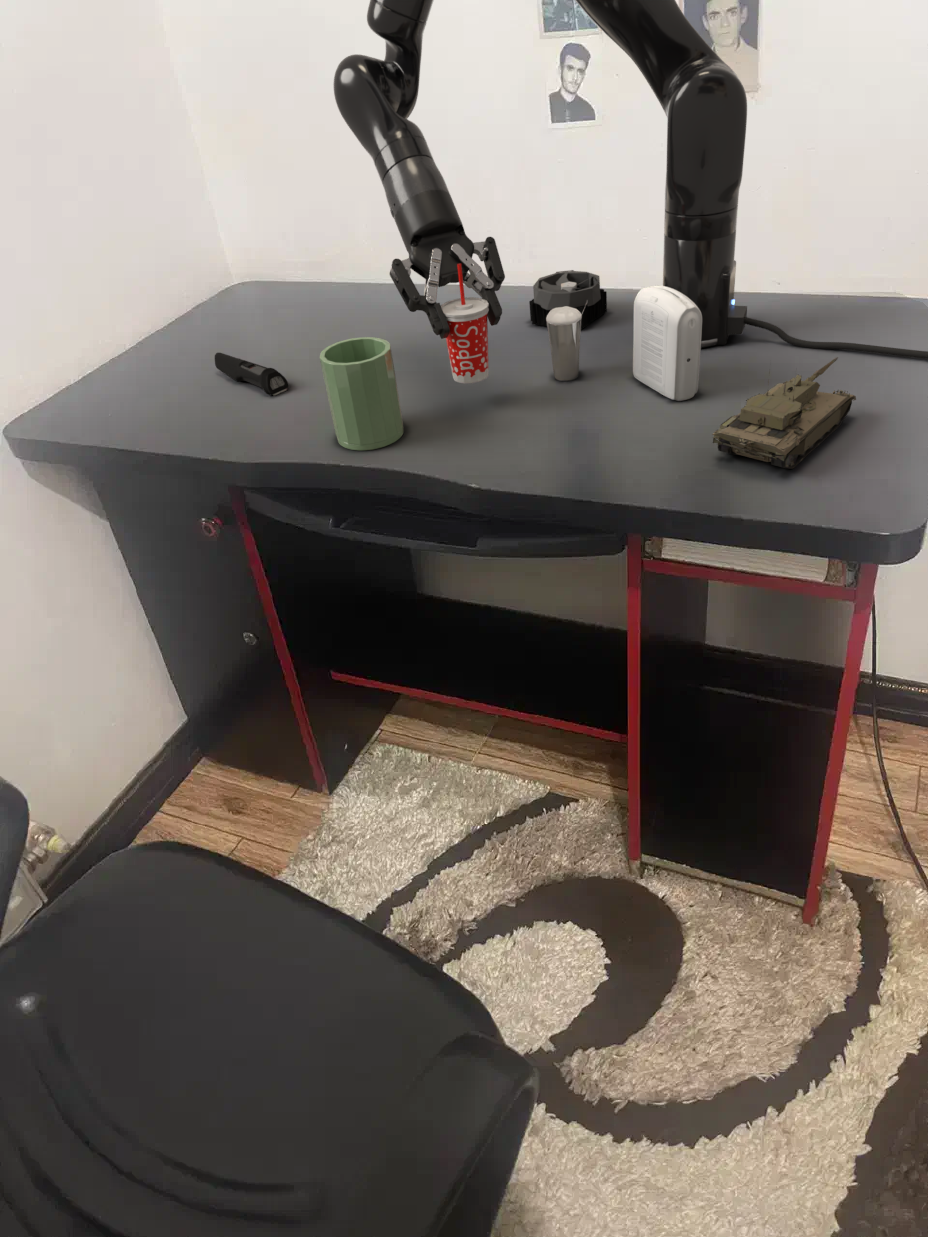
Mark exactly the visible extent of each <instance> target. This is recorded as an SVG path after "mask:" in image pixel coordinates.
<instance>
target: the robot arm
mask: <svg viewBox="0 0 928 1237" xmlns="http://www.w3.org/2000/svg"><path fill="white" fill-rule="evenodd" d="M434 1H435V0H369V4H368V8H367V13H366V22H367V25H368V28H369V29H370V31H372V32H373V33H374V34H375V35H376V36H378V37H380V38H381V39H383V40H384V43H385V54H384V60H382V59H379V58H376V57H372V56H369V55H364V54H350V55H348V56H345V57H344V58H343V59H342V60H341V61H340V62H339V63H338V65H337V67H336V69H335V72H334V77H333V84H332V85H333V96H334V100H335V104H336V106H337V109H338V111H339V113H340V116H341V118H342V119H343V120H344V122H345V124H346V125H347V127H348V129H349V130H351V131H350V132H352V134H353V135H354V137H355V138H356V139H357V141H358V142H359V143H360V145H361V147H362V148H363V149H364V150H365V151H366V152H367V154H368V155H369V157H370V158H371V159H372V161H373V162H372V163H373V165H374V167H375V170H376V173H377V174H378V177H379V181H380V182H381V185H382V187H383V190H384V193H385V197H386V202H387V204H388V208H389V211H390V212H389V213H390V215H391V217H392V219H393V220H394V222H395V224H396V227H397V229H398V232H399V235H400V237H401V240H402V241H403V244H404V247H405V250H406V251H407V253H408V258H406V259H403V260H401V259H399V258H394V259H393V260H392V261H391V266H390V269H389V277H390V278H391V280H392V282H393V284H394V286H395V288H396V289H397V291H398V293H399V295H400V297H401V298H402V301H403V302H404V304H405V306H406V307H407V308H406V309H407V310H408V311H409V312H411V313H415V312H417V311H422V312H424V313H425V314H426V316H427V319H428V321H429V323H430V327H431V329H432V331H433V333H434V334H435V335H436V336H439V338H440V339H441V340H444V339H446V338H447V337H448V335H449V333H450V328H449V325H448V323H447V320H446V318H445V315H444V313H443V310H442V308H441V305H442V304H441V303H440V302H437V298H438V289H439V288H442V287H445V286H447V285H448V284H457V283H458V284H459V276H458V267H457V264H458V263H461V267H462V276H463V285H465V287H467V288H468V289H472V290H473V291H474V292H475V293H476V294H477V295H478V296H479V297H480V298H482V299H484V300H487V302H488V303H489V307H488V308H489V311H488V313H487V321H488V322H489V324H490V325H491V326H492V327H493V326H496V325H498V324H499V321H501V316H502V315H503V308H502V305H501V303H500V301H499V298H498V296H497V293H496V292H498V291H500V289H501V287H502V284H503V282H504V281H505V279H506V275H505V271H504V267H503V264H502V261H501V257H500V254H499V248H498V246H497V243H496V239H495V238H494V237H492V236H487V237H486V238H485V241H476V242H473V241H472V240H471V238H469V237H468V236H467V234H466V232H465V228H464V224H463V222H462V220H461V218H460V217H461V216H460V215H459V213H458V210H457V208H456V205H455V203H454V200H453V198H452V195H451V193H450V191H449V188H448V186H447V183H446V181H445V179H444V178H445V177H444V176H443V175H442V172H441V171H440V170H439V168H438V165H437V163H436V161H435V159H434V156H433V155H432V152H431V149H430V147H429V144H428V142H427V140H426V138H425V136H424V133H423V131H422V129H421V128H420V127H419V126H418V125H417V124H416V123H415V122H413V121H411V120H409V117H410V116H411V114H412V113H413V111H414V109H415V107H416V104H417V100H418V97H419V90H420V77H421V66H422V55H423V54H422V53H423V41H424V40H423V39H424V33H425V29H426V26H427V23H428V20H429V16H430V14H431V10H432V7H433V4H434ZM574 1H575V2H576V3H577V5H578V6H579V7H580V8H581V9H582V11H583V12H584V13H585V14H586V15H587V16H588V18H589V19H590V20H591V21H592V22H593V23H594V24H595V25H596V26H597V27H598V28H599V29H600V30H601V31H602V32H603V33H604V34H605V35H606V36H607V37H608V38H609V39H610V40H612V41H613V43H615V44H616V45H617V46H618V47H619V48H620V49H621V50H622V51H623V52H624V53H625V54H626V55H627V56H628V57H629V58H630V59H631V61H632V62H633V64H635V65H636V67H637V68H638V70H639V71H640V73H641V75H642V76H643V78H644V79H645V80H646V82H647V83H648V85H649V87H650V88H651V90H652V92H653V93H654V95H655V98H657V101H658V102H659V104H660V106H661V108H662V110H663V112H664V114H665V116H666V119H667V120H666V121H667V122H666V125H667V126H666V172H665V186H664V216H663V217H664V222H663V224H664V225H663V258H662V260H663V263H662V286H666V287H669V288H672V289H675V290H677V291H679V292H681V293H682V294H684V295H685V296H687V297H688V298H689V299H690V300H691V301H693V302H694V303H695V304H696V306H697V307H698V308H699V310H700V311H701V314H702V334H701V349H702V348H709V347H713V346H725V345H726V344H727V343H728V340H729V338H730V336H731V335H736V336H737V335H743V332H744V330H745V326H746V325H747V326H751V327H756V328H760V329H763V330H767V331H769V332H771V333H773V334H775V335H777V336H778V337H779V338H780V339H781V340H782V341H784V342H785V343H787V344H790V345H793V346H796V347H800V348H806V349H814V350H815V349H818V350H846V351H847V350H848V351H856V352H863V353H873V354H881V355H890V356H898V357H907V358H915V359H916V358H917V359H926V360H928V351H926V350H917V349H907V348H899V347H892V346H891V347H889V346H881V345H872V344H863V343H855V342H843V341H842V342H841V341H812V340H804V339H800V338H796V337H794V336H791V335H789V334H788V333H786V332H785V330H783V329H782V328H780V327H779V326H777V325H774V324H772V323H769V322H766V321H763V320H759V319H755V318H751V317H747V314H748V305H735V302H736V299H735V286H736V270H737V260H736V259H735V254H736V253H735V252H736V241H737V240H736V239H737V238H736V237H737V225H738V209H739V198H740V197H739V196H740V189H741V185H742V180H743V170H744V159H745V149H746V148H745V147H746V134H747V121H748V97H747V93H746V90H745V87H744V84H743V83H742V82H741V80H740V78H739V76H738V75H737V74H736V72H735V71H734V70H733V69H732V68H731V66H729V65H728V64H727V62H725V61H724V60H722V58H721V57H720V56H719V55H718V53H716V52H715V50H714V49H712V48H711V46H710V45H709V44H708V43H707V42H706V40H705V39H704V37H703V36H701V34H700V33H699V32H698V31H697V30H696V29H695V27H694V26H693V25H692V24H691V22H690V21H689V20H688V19H687V17H686V16H685V13H683V10H682V9H681V8H680V6H679V4H678V3H677V1H676V0H574ZM474 254H475V255H476V256H477V257H478V259H479V261H480V262H483V264H484V268H485V271H486V274H485V272H484V270H483V269H482V267H481V265H479V264H478V263H477V261H475V260H474V259H473V255H474ZM412 271H413V272H414V273H416V274H417V275H419V276H420V277H422V278H423V279H424V290H423V294H420V292H419V290H418V288H417V287H416V285H415V283H414V281H413V279H412V277H411V275H412Z"/></svg>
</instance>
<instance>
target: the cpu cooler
mask: <svg viewBox="0 0 928 1237" xmlns="http://www.w3.org/2000/svg"><path fill="white" fill-rule="evenodd" d="M600 280H601V279H600V275H599V274H595V273H592V272H588V271H581V270H574V269H571V270H570V269H569V270H560V271H556V272H553V273H552V274H548V275H545V276H542V277H539V278H538V279H537V280H536V282H535V283H534V284H533V285H532V287H533V290H532V291H533V298H532V299H531V300H529V302H528V304H529V315H530V316H529V317H530V322H531V324H532V325H538V326H544V327H547V321H546V317H547V315H548V313H549V312H550V311H551V310H552V309H554V308H558V307H564V306H568V307H572V308H575V309H577V310H578V311H579V312H580V313H581V315H582V317H581V330H582V329H584V328H585V327H587V326H588V325H590V324H592V323H593V322H594V321H596V320H597V319H598V318H600V317H601V316H602V315H605V313H607V312H608V300H607V298H608V296H607V291H605V289H604V288H601V281H600ZM587 300H588V301H587ZM586 302H587V304H586ZM585 305H586V306H585ZM584 307H585V309H584ZM583 310H584V311H583ZM582 312H583V314H582Z"/></svg>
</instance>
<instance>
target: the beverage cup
mask: <svg viewBox="0 0 928 1237" xmlns="http://www.w3.org/2000/svg"><path fill="white" fill-rule="evenodd" d="M457 267H458V276H459V282H458V284H459V293H460V294H459V295H460V297H459V298H453V299H451V300H448V301H444V303H442V304H440V305H441V308H442V310H443V313H444V315H445V318H446V320H447V323H448V325H449V328H450V333H449V335H448V337H447V338H445V341H446V346H447V347H446V348H447V354H448V359H449V363H450V364H449V365H450V370H451V374H452V378H453V380H454V382H457V383H459V384H475V383H480V382H482V381H484V380H486V379H487V378H488V377H489V376H490V368H489V366H490V365H489V364H490V363H489V331H488V330H489V329H488V317H487V313H488V311H489V308H488V307H489V303H488V302H487V300H484V299H482V297H475V296H473V297H472V296H470V297H466V296H465V287H464V283H463V276H462V267H461V263H458V264H457Z"/></svg>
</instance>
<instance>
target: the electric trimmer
mask: <svg viewBox="0 0 928 1237" xmlns="http://www.w3.org/2000/svg"><path fill="white" fill-rule="evenodd" d="M214 365H215V369H217V370H218V371H220V372H221V373H223V374H224V375H226V376H228V378H230V379H232V380H234V381H237V382H248V383H249V384H252V385H254V386H257V387H259V388H261V389H262V390H263V391H264V393H265V394H266V395H268V396H272V395H273V396H274V397H275V396H277V395H279V394H281V393H284V392H285V391H287V390H288V388H289V382H288V380H287V379H286V377H285V376H284V375H283V374H282V373H281V372H279V371H278V370H277V369H275V368H273V367H267V366H263V365H260V364H257V363H254V362H251V361H248V360H245V359H241V358H238V357H235V356H233V355H232V356H231V355H229V354H227V353H223V352H216V353H215V354H214Z"/></svg>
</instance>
